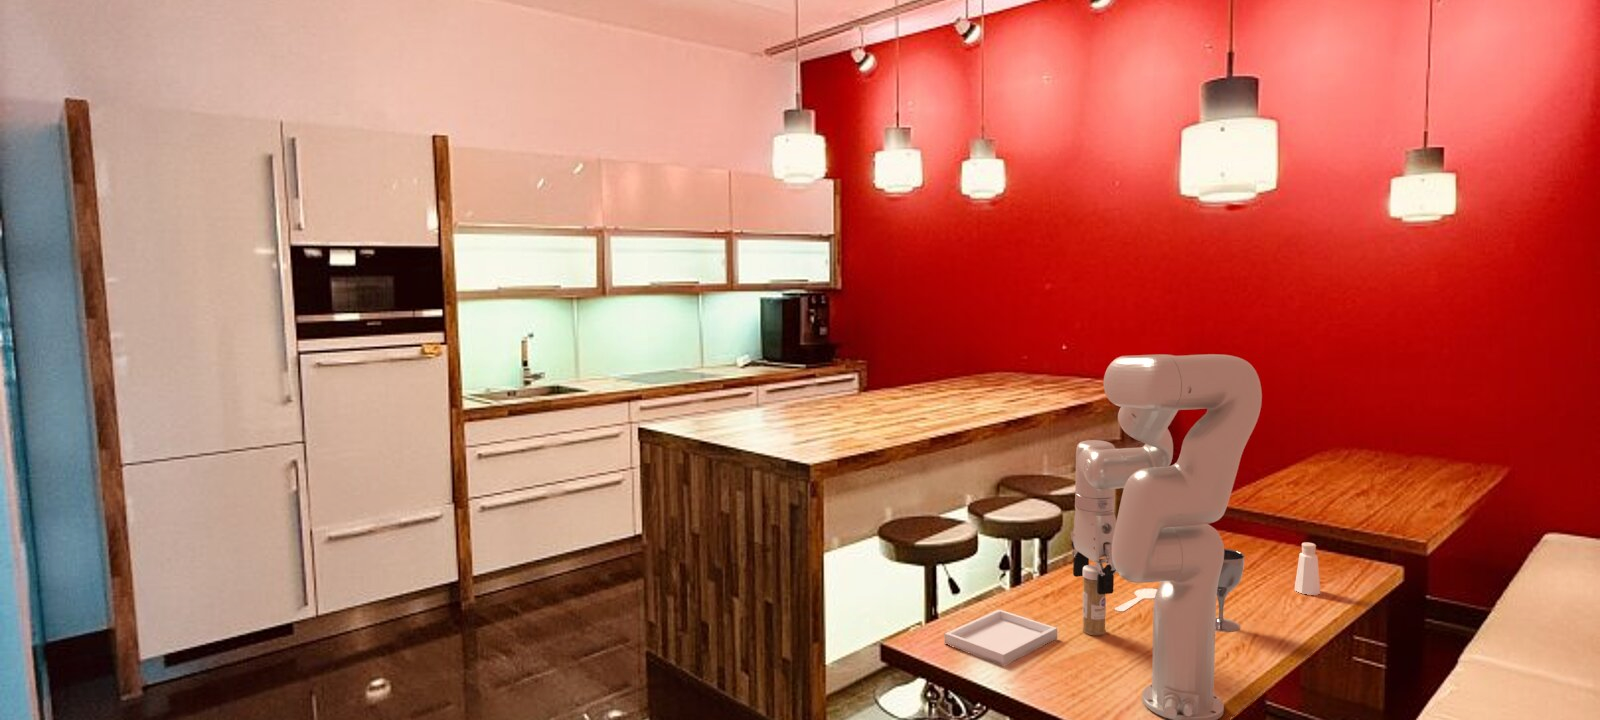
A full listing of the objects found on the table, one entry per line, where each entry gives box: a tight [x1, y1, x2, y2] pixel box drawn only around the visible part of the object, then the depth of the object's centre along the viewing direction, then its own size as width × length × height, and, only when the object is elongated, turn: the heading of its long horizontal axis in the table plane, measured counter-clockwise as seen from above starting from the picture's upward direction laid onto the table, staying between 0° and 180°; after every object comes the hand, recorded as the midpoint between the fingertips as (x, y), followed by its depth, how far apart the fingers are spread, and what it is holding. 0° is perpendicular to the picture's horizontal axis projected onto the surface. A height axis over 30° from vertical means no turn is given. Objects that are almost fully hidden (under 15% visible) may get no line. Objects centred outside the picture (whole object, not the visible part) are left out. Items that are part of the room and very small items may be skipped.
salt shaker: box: [1294, 541, 1321, 596], centre depth 200 cm, size 5×5×11 cm
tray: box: [944, 609, 1058, 667], centre depth 177 cm, size 18×14×2 cm
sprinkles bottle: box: [1082, 564, 1107, 637], centre depth 180 cm, size 5×5×14 cm
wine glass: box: [1215, 547, 1245, 633], centre depth 182 cm, size 8×8×15 cm
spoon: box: [1114, 587, 1158, 612], centre depth 197 cm, size 5×18×1 cm, turn 133°
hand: (1092, 584), depth 180 cm, fingers open, 9 cm apart
